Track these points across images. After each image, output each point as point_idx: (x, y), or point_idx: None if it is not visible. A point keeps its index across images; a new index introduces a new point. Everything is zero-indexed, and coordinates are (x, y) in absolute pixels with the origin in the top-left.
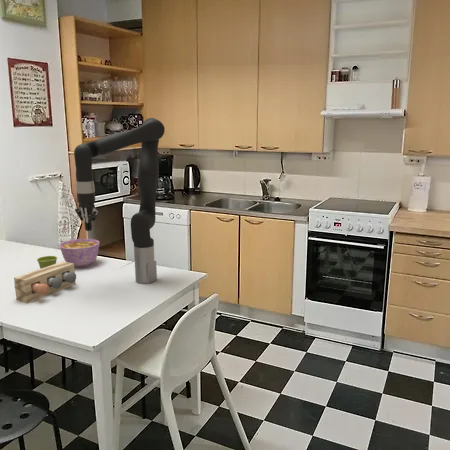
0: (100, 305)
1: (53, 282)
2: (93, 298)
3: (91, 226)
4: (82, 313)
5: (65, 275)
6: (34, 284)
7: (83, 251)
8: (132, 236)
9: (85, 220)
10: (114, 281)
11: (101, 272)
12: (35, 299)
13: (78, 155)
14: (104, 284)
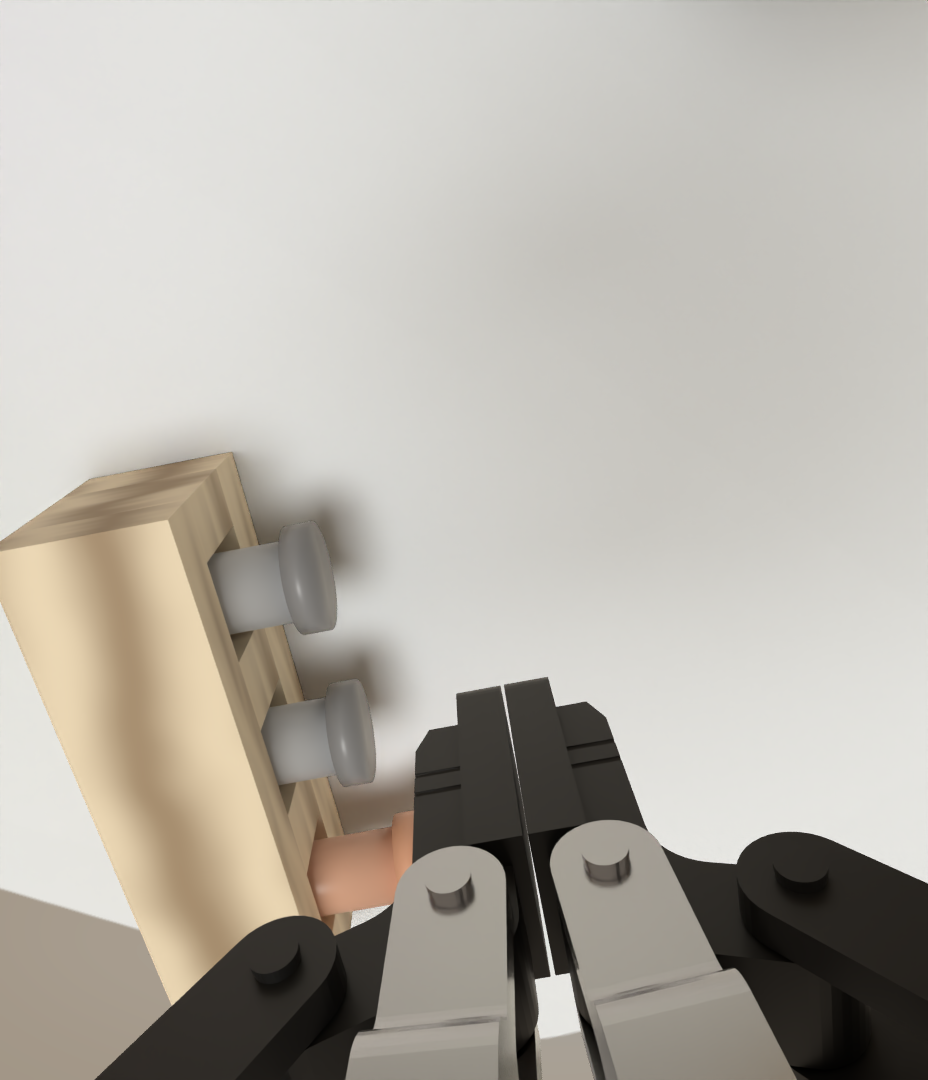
0: (830, 579)
1: (372, 780)
2: (667, 536)
3: (619, 759)
4: (829, 731)
5: (268, 625)
6: (328, 912)
7: None
8: None
9: (537, 1051)
10: (456, 126)
11: (61, 24)
12: (340, 823)
13: None
14: (452, 263)
